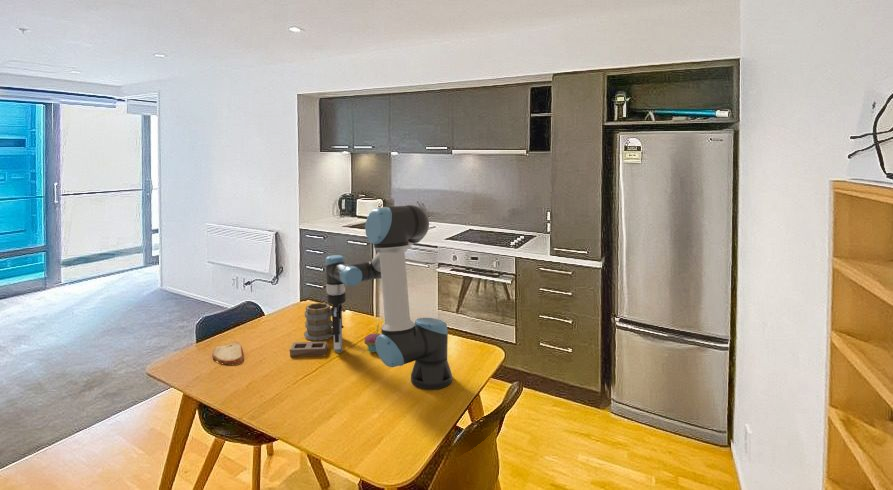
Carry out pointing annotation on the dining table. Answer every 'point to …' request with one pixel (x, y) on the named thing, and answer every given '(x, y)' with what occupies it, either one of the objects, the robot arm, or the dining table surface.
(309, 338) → the tankard
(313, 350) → the hole block
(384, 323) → the robot arm
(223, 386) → the dining table surface
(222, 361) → the bread slice
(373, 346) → the cupcake
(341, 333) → the dowel
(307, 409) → the dining table surface
